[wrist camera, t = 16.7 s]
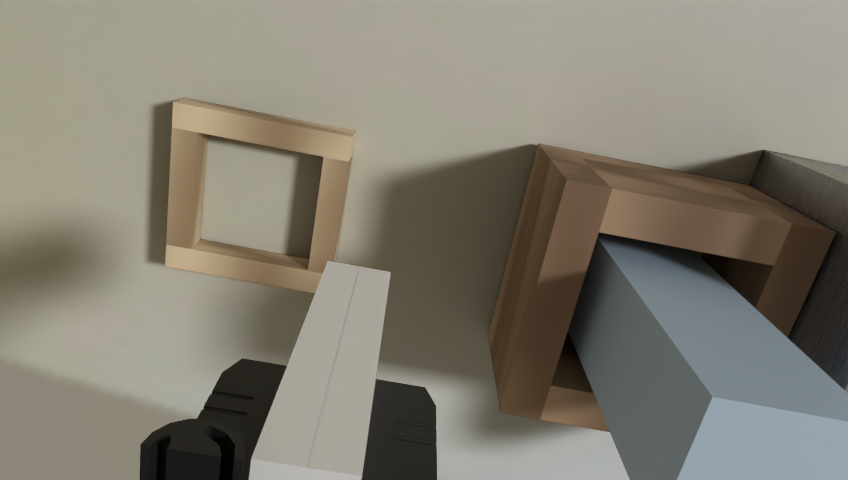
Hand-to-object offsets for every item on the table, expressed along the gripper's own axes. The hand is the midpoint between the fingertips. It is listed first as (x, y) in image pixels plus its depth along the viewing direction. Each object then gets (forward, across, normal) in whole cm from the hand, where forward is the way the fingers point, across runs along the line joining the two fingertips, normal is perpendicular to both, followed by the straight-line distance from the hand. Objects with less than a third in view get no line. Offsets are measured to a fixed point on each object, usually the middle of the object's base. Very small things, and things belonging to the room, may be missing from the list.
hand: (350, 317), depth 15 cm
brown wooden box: (+12, +10, -2) cm, 16 cm away
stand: (+12, -5, -2) cm, 13 cm away
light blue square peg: (+10, +10, -2) cm, 14 cm away
